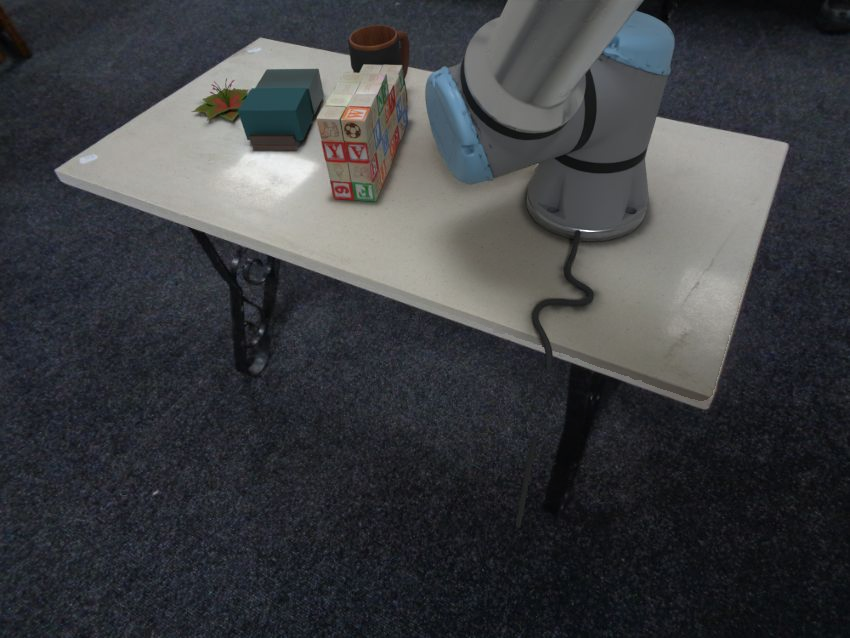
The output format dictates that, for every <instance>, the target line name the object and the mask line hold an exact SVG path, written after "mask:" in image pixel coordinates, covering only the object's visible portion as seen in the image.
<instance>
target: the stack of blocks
mask: <svg viewBox="0 0 850 638" xmlns="http://www.w3.org/2000/svg"><path fill="white" fill-rule="evenodd" d="M406 103H407V104H406ZM316 123H317V127H318V131H319V136H320V140H321V141H320V143H321V149H322V152H323V157H324V160H325V164H326V168H327V172H328V178H329V184H330V188H331V192H332V197H333V199H334V200H344V201H345V200H346V201H363V202H377V200H378V197H379V195H380V192H381V190H382V189H383V187H384V184H385V181H386V179H387V176H388V174H389V172H390V170H391V167H392V162H393V160H394V158H395V155H396V151H397V149H398V147H399V144H400V142H401V141H402V138H403V136H404V134H405V130H406V128H407V125H408V123H409V116H408V101H407V102H406V91H405V85H404V77H403V66H402V65H363V67H362V68H361V70H360V72H359V73H353V72H348V71H346V72H345V71H344V72H343V73H342V75H341V76H340V78H339V80H338V82H337V84H336V86H335V88H334V89H333V91H332V92H331V94H330V96H329V97H328V99H327V101H326V102H325V103H324V106H322V108H321V110H320V112H318V114H317V116H316Z"/></svg>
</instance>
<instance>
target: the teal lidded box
mask: <svg viewBox="0 0 850 638" xmlns="http://www.w3.org/2000/svg"><path fill="white" fill-rule="evenodd" d="M254 88H307V91H308V96H309V100H310V105H311V109H312V114H313V116H315V115H316V113H317V111H318V109H319V107H320V104H321V102H322V100H323V97H324V94H325V93H324V89H323V84H322V78H321V73H320V69H319V68H268V69H267V68H266V69H265V71H264V73H263V74H262V76H261V78H260V79H259V80H258V82H257V84H256V86H255V87H254ZM249 139H250V140H249V142H250V144H251V148H252V151H254V152H255V151H256V152H258V151H259V152H261V151H264V152H267V151H268V152H270V151H271V152H273V151H274V152H275V151H277V152H281V151H282V152H292V151H293V152H295V151H297V150H298V148H299V146H300V144H301V142H302V140H295V138H294V135H293V134H250V135H249Z"/></svg>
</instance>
